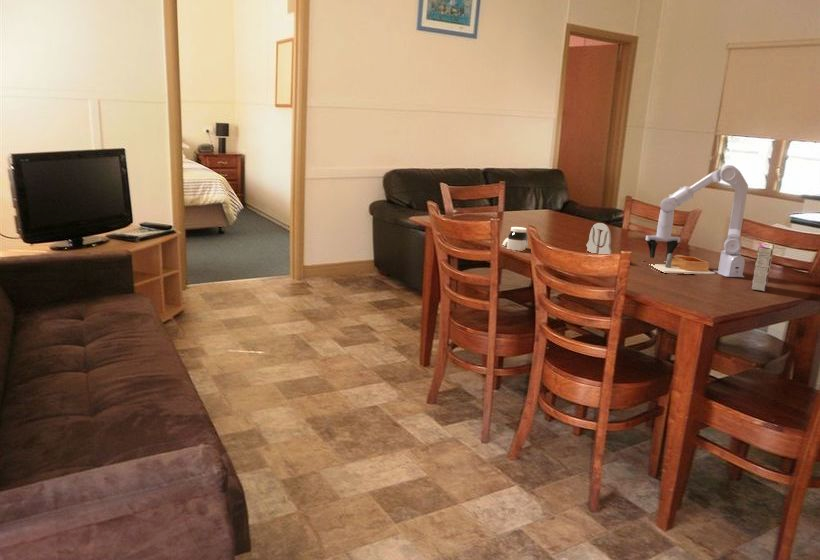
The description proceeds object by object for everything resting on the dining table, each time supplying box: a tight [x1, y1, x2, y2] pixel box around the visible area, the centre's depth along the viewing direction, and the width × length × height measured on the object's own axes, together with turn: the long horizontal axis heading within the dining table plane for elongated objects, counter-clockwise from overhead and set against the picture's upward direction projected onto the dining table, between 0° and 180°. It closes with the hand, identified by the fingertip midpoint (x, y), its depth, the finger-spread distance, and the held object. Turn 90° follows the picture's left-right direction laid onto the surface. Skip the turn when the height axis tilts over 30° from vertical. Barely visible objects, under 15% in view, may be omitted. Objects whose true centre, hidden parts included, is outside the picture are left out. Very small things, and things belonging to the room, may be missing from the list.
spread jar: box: [502, 226, 529, 250], centre depth 276 cm, size 12×11×12 cm
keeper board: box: [649, 253, 716, 275], centre depth 261 cm, size 20×22×7 cm
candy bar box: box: [750, 242, 775, 292], centre depth 234 cm, size 11×5×16 cm, turn 148°
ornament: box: [586, 222, 613, 255], centre depth 266 cm, size 22×13×17 cm, turn 15°
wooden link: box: [671, 254, 710, 271], centre depth 262 cm, size 15×10×4 cm, turn 6°
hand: (660, 257), depth 266 cm, fingers open, 7 cm apart
